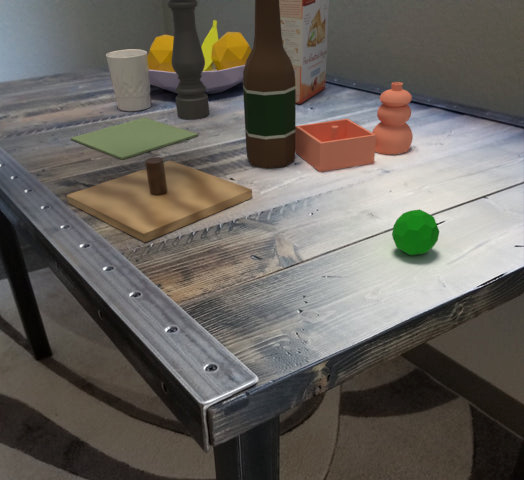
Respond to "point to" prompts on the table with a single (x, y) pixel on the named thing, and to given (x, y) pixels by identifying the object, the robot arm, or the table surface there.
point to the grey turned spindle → (188, 62)
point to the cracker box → (306, 43)
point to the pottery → (357, 135)
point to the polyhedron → (415, 232)
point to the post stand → (158, 198)
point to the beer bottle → (269, 93)
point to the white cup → (130, 79)
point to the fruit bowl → (216, 61)
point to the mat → (133, 138)
